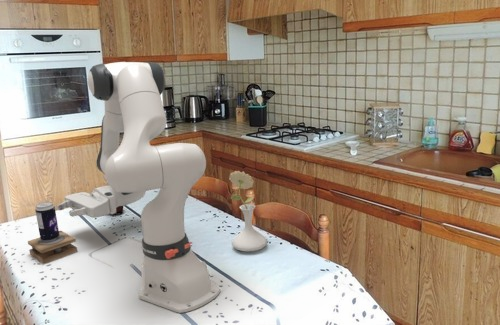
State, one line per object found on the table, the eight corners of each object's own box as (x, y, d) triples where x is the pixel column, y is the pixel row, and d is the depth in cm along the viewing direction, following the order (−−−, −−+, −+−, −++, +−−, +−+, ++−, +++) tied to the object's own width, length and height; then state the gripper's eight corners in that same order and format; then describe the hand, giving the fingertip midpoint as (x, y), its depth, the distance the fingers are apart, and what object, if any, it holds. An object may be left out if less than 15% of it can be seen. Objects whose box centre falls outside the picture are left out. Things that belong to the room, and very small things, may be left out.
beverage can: (53, 243, 144) (47, 207, 141) (37, 242, 144) (30, 207, 141) (63, 235, 149) (57, 201, 146) (47, 235, 150) (41, 201, 147)
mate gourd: (121, 216, 178) (117, 180, 174) (102, 217, 178) (96, 180, 174) (127, 209, 185) (122, 174, 181) (108, 210, 185) (103, 175, 182)
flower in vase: (274, 245, 145) (271, 170, 139) (250, 258, 137) (246, 179, 131) (245, 235, 154) (241, 164, 148) (221, 247, 146) (215, 172, 140)
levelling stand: (77, 251, 148) (75, 237, 147) (43, 264, 141) (41, 249, 139) (62, 242, 156) (60, 229, 154) (30, 254, 148) (27, 240, 147)
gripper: (86, 185, 164) (49, 195, 155) (116, 196, 151) (76, 208, 141) (89, 202, 166) (51, 213, 156) (118, 214, 152) (79, 227, 143)
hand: (63, 210), depth 149 cm, fingers open, 8 cm apart
